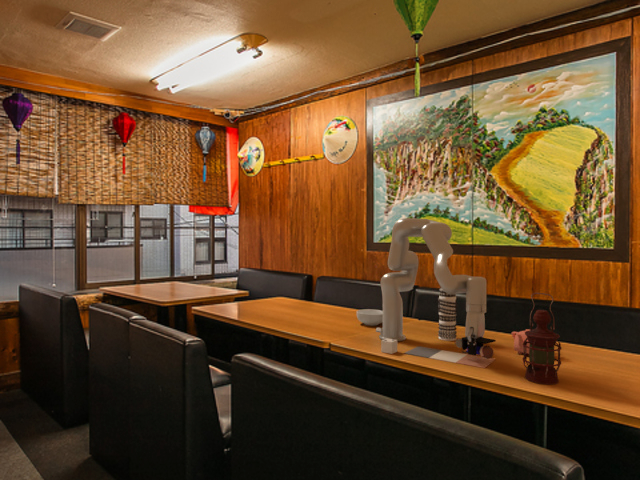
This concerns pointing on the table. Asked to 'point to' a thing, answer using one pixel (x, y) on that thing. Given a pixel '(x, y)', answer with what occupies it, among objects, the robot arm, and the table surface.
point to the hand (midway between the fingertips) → (475, 352)
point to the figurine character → (483, 351)
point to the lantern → (542, 349)
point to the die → (389, 346)
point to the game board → (450, 356)
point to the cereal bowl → (370, 316)
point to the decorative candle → (447, 316)
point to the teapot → (520, 341)
